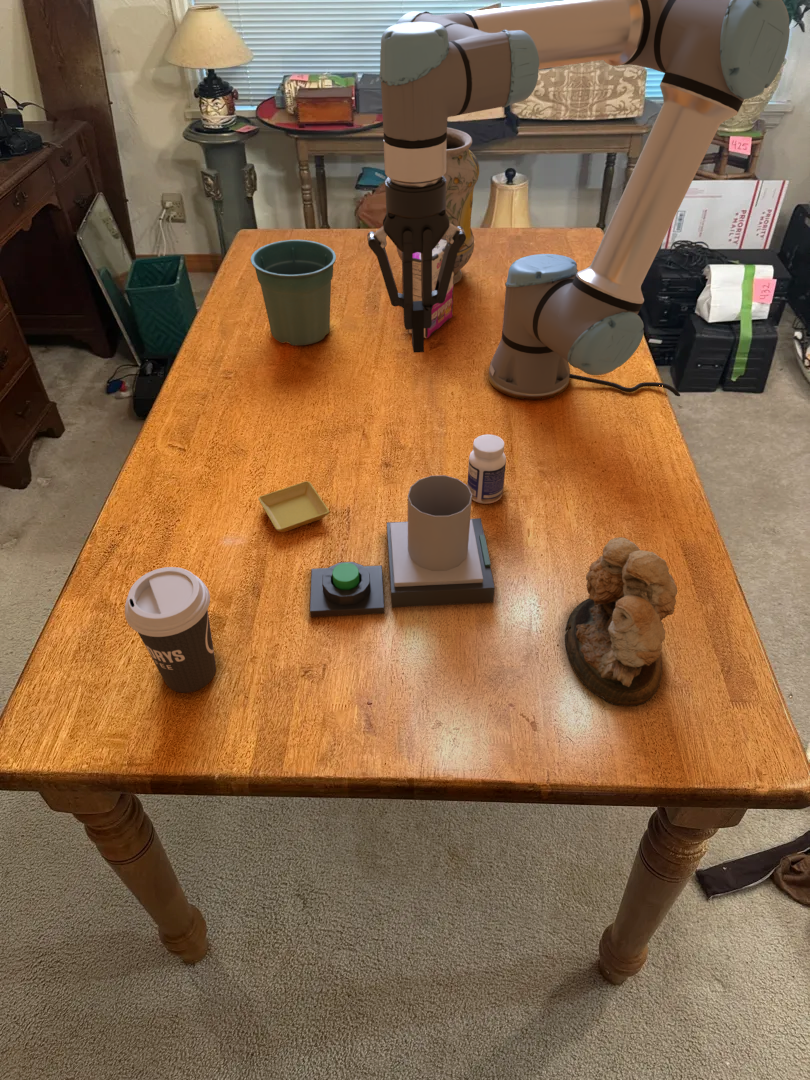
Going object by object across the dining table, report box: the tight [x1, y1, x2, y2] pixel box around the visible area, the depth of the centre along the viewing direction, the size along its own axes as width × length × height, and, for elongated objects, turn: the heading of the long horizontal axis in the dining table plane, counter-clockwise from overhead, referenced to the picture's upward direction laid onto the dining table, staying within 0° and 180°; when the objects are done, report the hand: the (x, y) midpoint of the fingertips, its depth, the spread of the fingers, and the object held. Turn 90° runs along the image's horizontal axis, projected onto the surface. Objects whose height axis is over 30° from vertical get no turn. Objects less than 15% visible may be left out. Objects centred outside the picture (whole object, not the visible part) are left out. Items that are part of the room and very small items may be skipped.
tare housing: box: [309, 561, 385, 618], centre depth 105 cm, size 10×8×3 cm
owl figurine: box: [564, 536, 679, 707], centre depth 93 cm, size 18×12×17 cm, turn 6°
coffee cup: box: [124, 566, 217, 694], centre depth 91 cm, size 10×10×15 cm
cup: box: [407, 474, 473, 571], centre depth 103 cm, size 8×8×10 cm
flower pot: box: [250, 239, 337, 346], centre depth 153 cm, size 16×16×16 cm
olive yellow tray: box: [258, 480, 330, 533], centre depth 117 cm, size 9×9×2 cm
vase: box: [395, 127, 480, 285], centre depth 167 cm, size 18×18×30 cm
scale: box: [386, 517, 496, 608], centre depth 108 cm, size 14×14×4 cm
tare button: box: [332, 563, 359, 590], centre depth 103 cm, size 4×4×2 cm
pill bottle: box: [466, 433, 507, 505], centre depth 118 cm, size 6×6×10 cm
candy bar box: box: [407, 239, 454, 339], centre depth 155 cm, size 11×5×16 cm, turn 148°
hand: (417, 347), depth 109 cm, fingers closed
